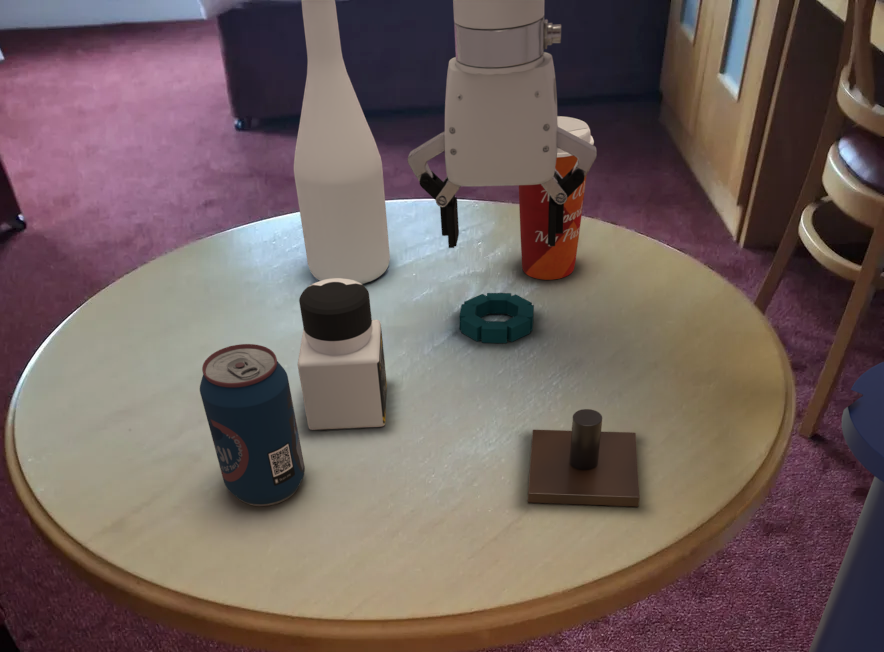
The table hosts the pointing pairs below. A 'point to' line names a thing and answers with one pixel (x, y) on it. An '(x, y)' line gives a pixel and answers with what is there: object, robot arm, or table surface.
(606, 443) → the ring post
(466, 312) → the ring
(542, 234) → the coffee cup
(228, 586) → the table surface
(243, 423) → the soda can
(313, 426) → the medicine bottle
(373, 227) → the wine bottle
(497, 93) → the robot arm
